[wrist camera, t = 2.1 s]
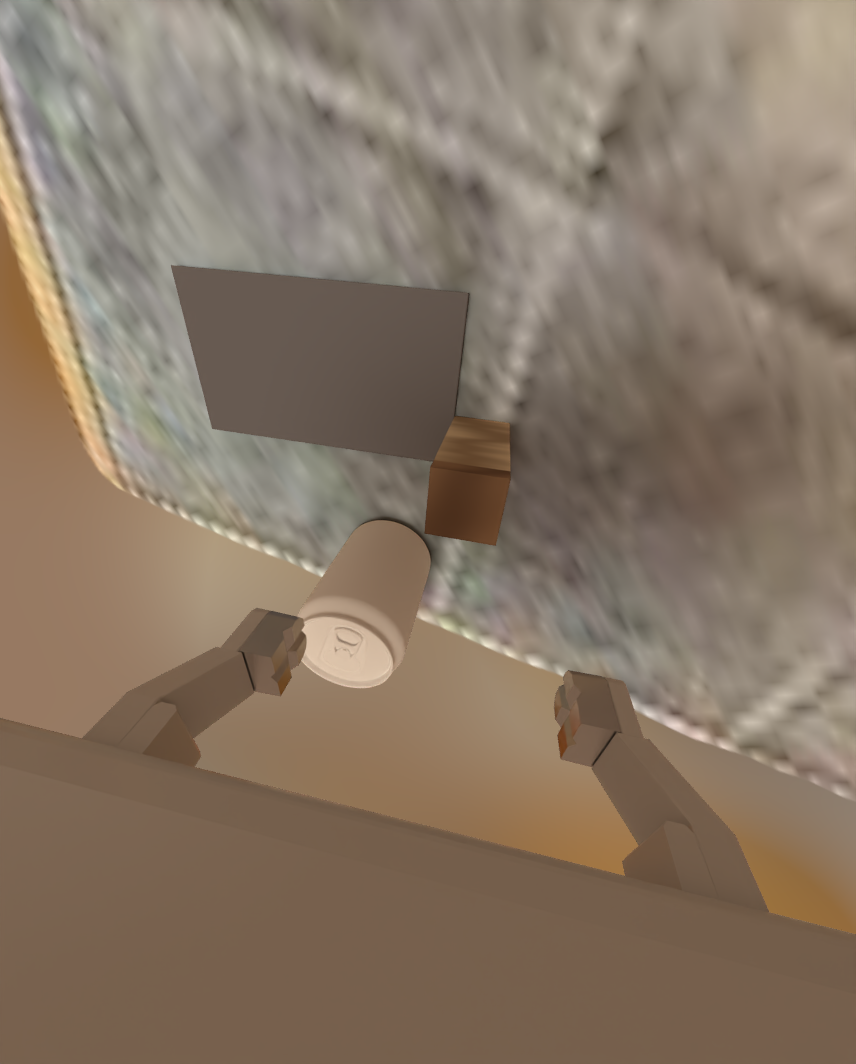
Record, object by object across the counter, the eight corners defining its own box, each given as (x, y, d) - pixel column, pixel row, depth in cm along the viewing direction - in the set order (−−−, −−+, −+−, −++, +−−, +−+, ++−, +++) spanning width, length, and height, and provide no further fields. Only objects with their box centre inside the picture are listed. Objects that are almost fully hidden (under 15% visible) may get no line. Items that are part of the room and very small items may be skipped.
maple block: (509, 423, 26) (510, 479, 17) (499, 474, 28) (495, 545, 20) (454, 415, 26) (430, 467, 18) (448, 466, 28) (424, 533, 20)
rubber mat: (469, 293, 22) (468, 293, 22) (449, 460, 28) (448, 463, 28) (177, 265, 24) (171, 265, 24) (217, 426, 30) (212, 428, 30)
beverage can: (344, 569, 36) (282, 669, 26) (357, 504, 32) (289, 594, 22) (418, 596, 36) (385, 705, 26) (443, 534, 32) (414, 638, 22)
